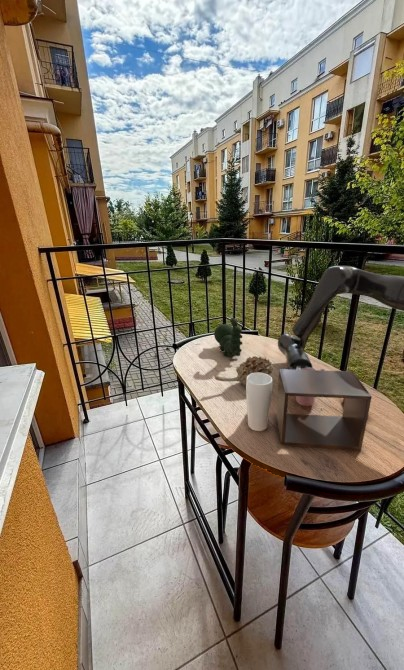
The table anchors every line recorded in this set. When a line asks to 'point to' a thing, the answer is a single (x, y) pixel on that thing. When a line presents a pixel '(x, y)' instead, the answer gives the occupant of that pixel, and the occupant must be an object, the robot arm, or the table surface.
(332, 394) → the cubby cabinet
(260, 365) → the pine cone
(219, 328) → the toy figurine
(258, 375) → the drinking glass
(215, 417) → the table surface
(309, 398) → the pink canister
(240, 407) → the table surface
